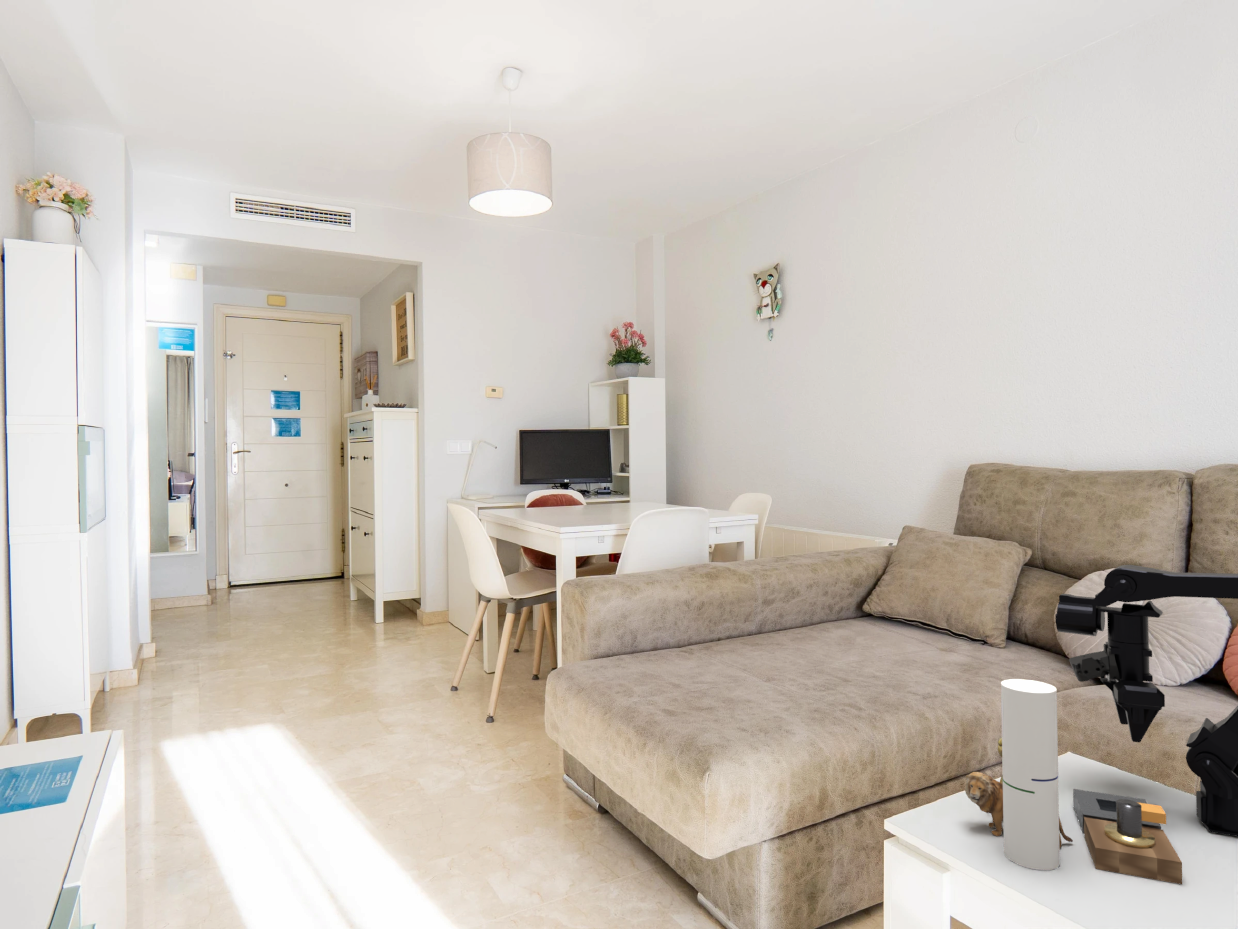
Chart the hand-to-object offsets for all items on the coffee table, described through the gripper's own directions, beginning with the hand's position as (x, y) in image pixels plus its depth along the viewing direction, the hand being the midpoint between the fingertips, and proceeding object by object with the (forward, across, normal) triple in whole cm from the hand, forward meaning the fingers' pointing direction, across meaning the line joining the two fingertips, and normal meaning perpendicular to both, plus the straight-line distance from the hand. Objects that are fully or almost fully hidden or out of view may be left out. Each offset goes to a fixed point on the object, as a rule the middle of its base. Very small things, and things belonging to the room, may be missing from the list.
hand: (1129, 732), depth 124 cm
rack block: (+12, +21, -4) cm, 25 cm away
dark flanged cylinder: (+12, +21, -4) cm, 24 cm away
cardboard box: (+8, +15, 0) cm, 17 cm away
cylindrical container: (+12, +26, -17) cm, 33 cm away
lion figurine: (+12, +20, -19) cm, 30 cm away
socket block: (+12, +10, -4) cm, 16 cm away
